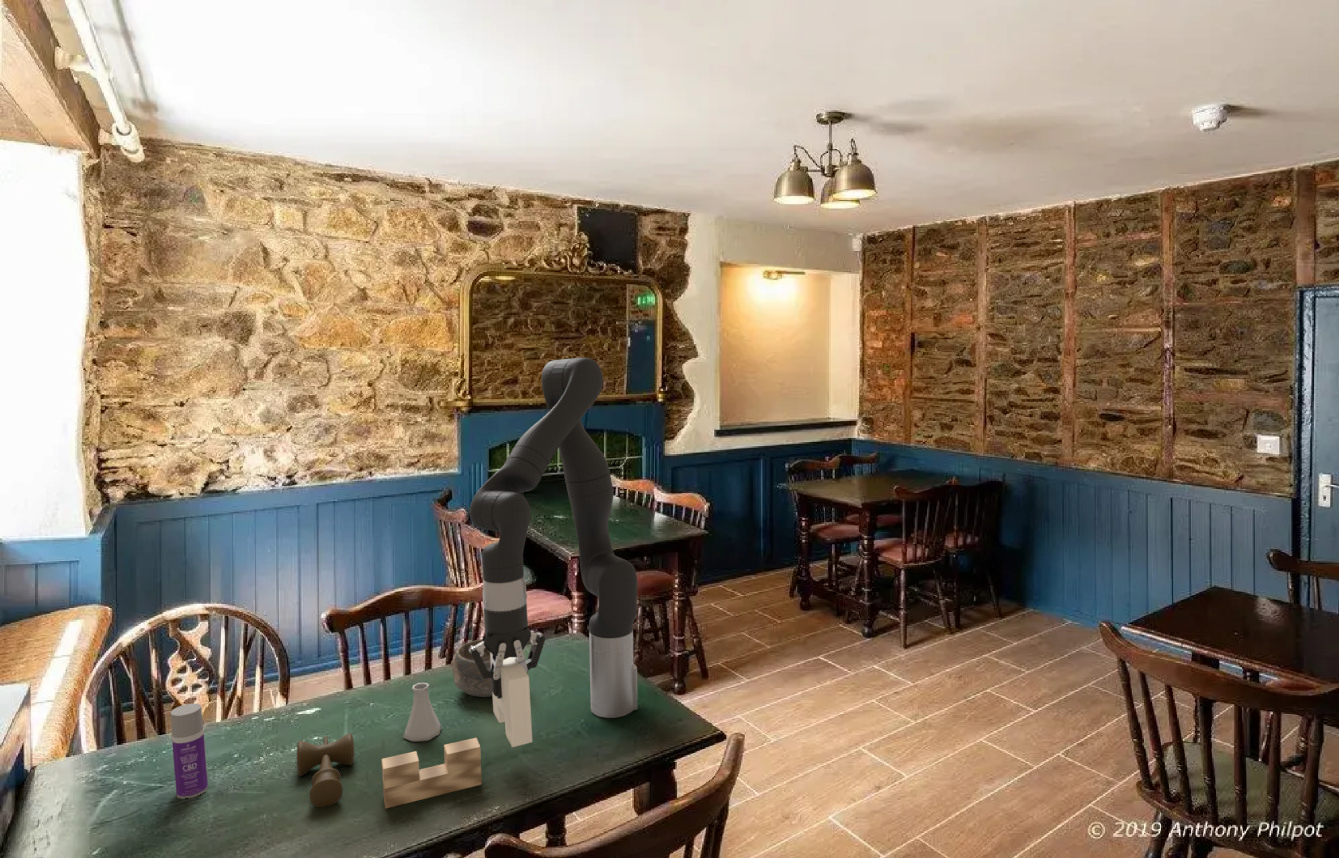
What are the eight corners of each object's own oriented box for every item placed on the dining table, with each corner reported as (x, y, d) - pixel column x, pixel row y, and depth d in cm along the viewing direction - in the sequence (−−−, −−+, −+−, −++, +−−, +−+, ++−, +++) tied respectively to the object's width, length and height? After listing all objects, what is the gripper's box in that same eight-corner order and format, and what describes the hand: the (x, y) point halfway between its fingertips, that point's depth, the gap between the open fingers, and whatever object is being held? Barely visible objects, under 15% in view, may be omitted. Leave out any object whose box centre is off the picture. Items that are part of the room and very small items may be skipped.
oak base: (477, 774, 136) (476, 737, 135) (481, 784, 133) (480, 746, 132) (383, 797, 129) (381, 758, 128) (385, 808, 126) (383, 768, 125)
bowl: (467, 676, 177) (466, 635, 176) (530, 679, 175) (529, 638, 174) (441, 704, 163) (440, 659, 162) (510, 708, 161) (508, 663, 160)
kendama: (294, 818, 125) (298, 756, 143) (357, 805, 129) (353, 746, 147) (293, 784, 124) (297, 726, 142) (356, 772, 128) (352, 717, 146)
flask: (430, 744, 146) (427, 695, 145) (396, 741, 148) (394, 692, 147) (448, 726, 154) (446, 679, 152) (415, 723, 155) (413, 676, 154)
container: (184, 802, 128) (178, 718, 127) (171, 793, 131) (164, 711, 129) (213, 788, 132) (207, 707, 131) (199, 780, 135) (193, 700, 133)
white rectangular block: (493, 711, 141) (489, 651, 140) (511, 707, 143) (508, 647, 141) (512, 747, 129) (508, 680, 127) (532, 741, 130) (528, 676, 129)
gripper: (537, 588, 140) (542, 677, 142) (460, 602, 133) (466, 694, 135) (549, 601, 133) (554, 693, 135) (468, 615, 127) (474, 712, 129)
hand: (510, 693), depth 135 cm, fingers closed on white rectangular block, 3 cm apart
